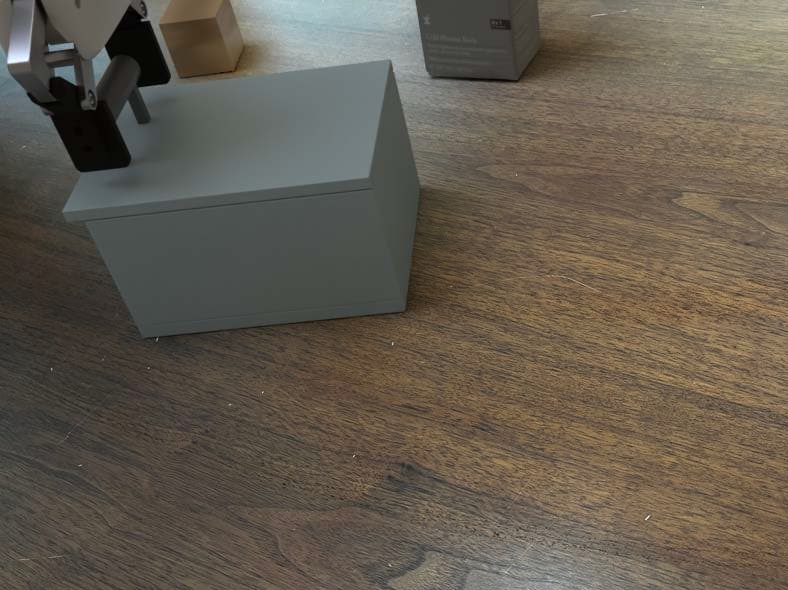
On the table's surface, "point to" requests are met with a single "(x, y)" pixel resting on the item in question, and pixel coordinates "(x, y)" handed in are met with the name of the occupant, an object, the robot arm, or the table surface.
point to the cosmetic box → (478, 37)
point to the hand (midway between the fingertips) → (128, 123)
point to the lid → (237, 139)
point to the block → (201, 36)
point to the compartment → (272, 252)
